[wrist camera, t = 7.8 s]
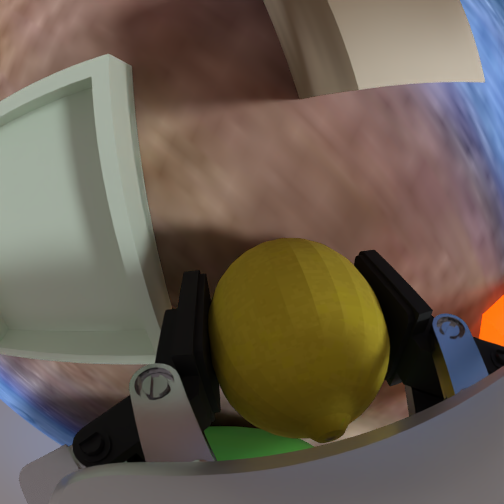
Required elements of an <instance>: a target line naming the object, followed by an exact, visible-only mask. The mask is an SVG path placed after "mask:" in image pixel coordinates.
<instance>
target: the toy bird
mask: <svg viewBox="0 0 504 504" xmlns="http://www.w3.org/2000/svg"><path fill="white" fill-rule="evenodd" d="M204 433H205V435H206V437H207V440H208V442H209V444H210V446H211V448H212V451H213V453H214V455H215V457H216V459H217V461H224V460H236V459H246V458H255V457H263V456H270V455H276V454H282V453H288V452H293V451H298V450H303V449H308V448H313V447H314V446H312V445H311V444H309V443H307V442H305V441H303V440H301V439H298V438H287V437H282V436H278V435H274V434H272V433H269V432H267V431H265V430H262V429H257V428H248V427H233V426H211V427H208V428H207V429H205V430H204Z"/></svg>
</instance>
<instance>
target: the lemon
mask: <svg viewBox="0 0 504 504" xmlns="http://www.w3.org/2000/svg"><path fill="white" fill-rule="evenodd" d="M208 334H209V344H210V353H211V361H212V366H213V369H214V371H215V374H216V377H217V379H218V382H219V384H220V387H221V389H222V391H223V393H224V395H225V397H226V398H227V400H228V401H229V403H230V404H231V406H232V407H233V408H234V409H235V410H236V411H237V412H238V413H239V414H240V415H241V416H242V417H243V418H244V419H246V420H247V421H248V422H250V423H251V424H253V425H254V426H256V427H258V428H260V429H262V430H265V431H267V432H269V433H272V434H274V435H278V436H282V437H287V438H311V439H312V440H314V441H316V442H318V443H326V442H330V441H333V440H336V439H338V438H339V437H341V436H342V435H343V434H344V433H345V431H346V428H347V426H348V424H350V423H351V422H352V421H354V420H355V419H356V418H358V417H359V416H360V415H361V414H362V413H363V412H364V411H365V410H366V409H367V408H368V406H369V405H370V404H371V403H372V401H373V400H374V399H375V397H376V395H377V393H378V391H379V389H380V387H381V385H382V384H383V382H384V379H385V376H386V373H387V369H388V362H389V353H390V342H389V335H388V330H387V326H386V323H385V319H384V316H383V313H382V310H381V307H380V304H379V302H378V299H377V297H376V295H375V293H374V291H373V290H372V288H371V286H370V285H369V283H368V282H367V281H366V279H365V278H364V277H363V276H362V275H361V273H360V272H359V271H358V270H357V268H356V267H355V266H354V265H353V264H352V263H351V262H350V261H349V260H348V259H346V258H345V257H344V256H342V255H341V254H339V253H337V252H336V251H334V250H332V249H331V248H329V247H327V246H326V245H323V244H321V243H318V242H314V241H310V240H306V239H301V238H280V239H276V240H272V241H267V242H263V243H261V244H259V245H257V246H255V247H253V248H251V249H249V250H247V251H246V252H245V253H243V254H242V255H241V256H240V257H239V258H237V259H236V260H235V261H234V262H233V263H232V264H231V265H230V266H229V268H228V269H227V270H226V272H225V273H224V274H223V276H222V277H221V279H220V280H219V282H218V284H217V287H216V289H215V292H214V295H213V298H212V301H211V304H210V307H209V313H208Z"/></svg>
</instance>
